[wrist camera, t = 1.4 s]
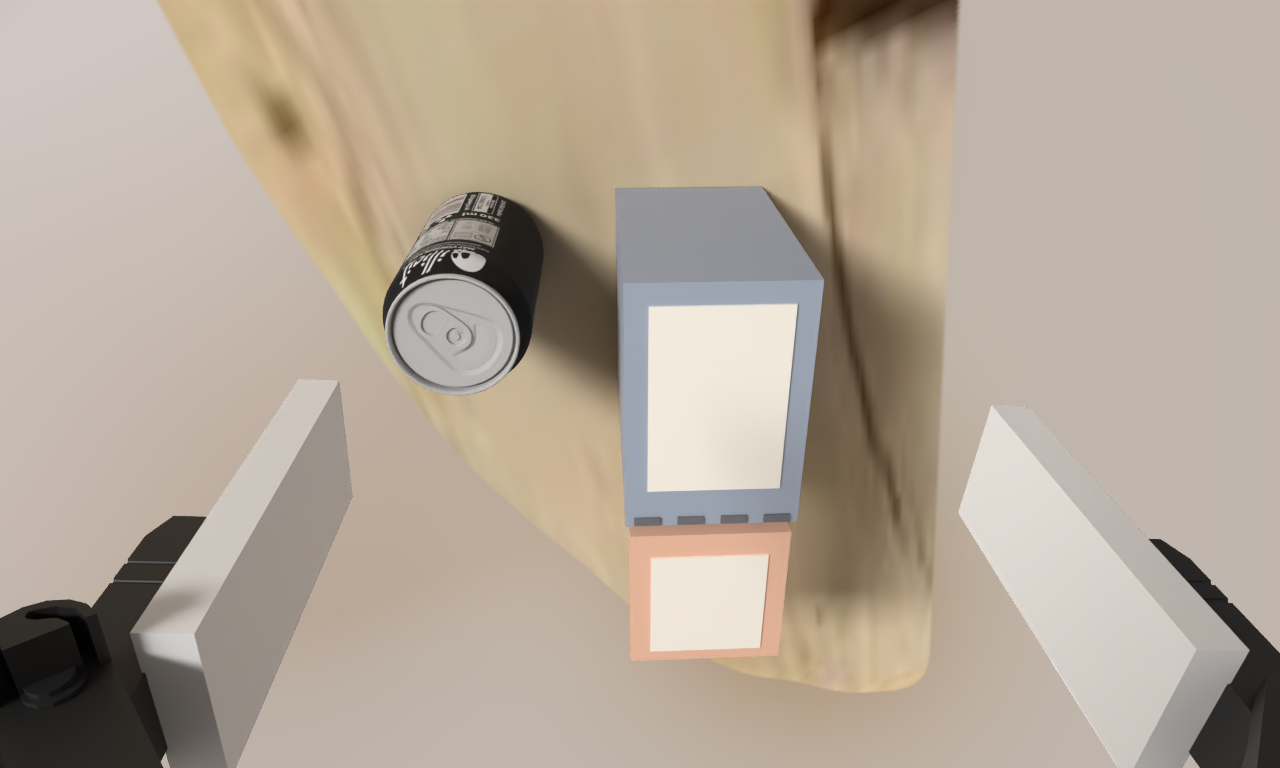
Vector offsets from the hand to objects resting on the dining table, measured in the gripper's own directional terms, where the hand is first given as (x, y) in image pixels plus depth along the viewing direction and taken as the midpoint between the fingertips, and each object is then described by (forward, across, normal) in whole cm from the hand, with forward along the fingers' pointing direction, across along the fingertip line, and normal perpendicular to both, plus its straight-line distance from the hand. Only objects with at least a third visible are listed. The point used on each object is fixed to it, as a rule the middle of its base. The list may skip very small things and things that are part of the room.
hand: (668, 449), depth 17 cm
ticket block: (+30, +4, -9) cm, 32 cm away
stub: (+17, +5, -19) cm, 26 cm away
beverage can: (+31, -7, -7) cm, 32 cm away
